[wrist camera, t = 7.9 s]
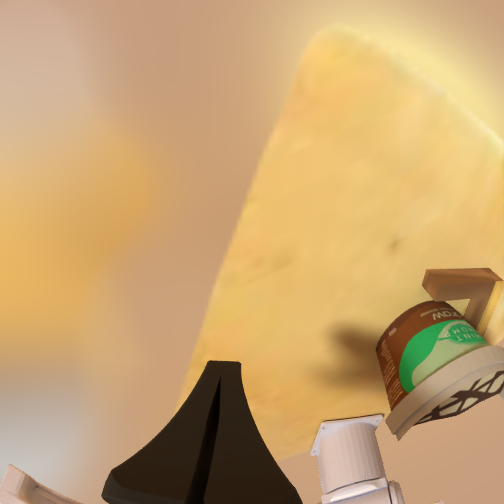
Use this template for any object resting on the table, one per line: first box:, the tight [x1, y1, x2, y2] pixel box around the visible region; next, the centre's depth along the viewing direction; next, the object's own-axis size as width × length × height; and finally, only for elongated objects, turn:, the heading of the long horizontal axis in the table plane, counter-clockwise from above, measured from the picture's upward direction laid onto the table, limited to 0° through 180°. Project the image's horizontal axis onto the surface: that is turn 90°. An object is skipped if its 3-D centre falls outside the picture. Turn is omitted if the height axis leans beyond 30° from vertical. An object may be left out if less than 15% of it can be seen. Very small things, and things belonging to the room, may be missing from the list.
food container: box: [376, 300, 504, 441], centre depth 18 cm, size 12×6×10 cm, turn 94°
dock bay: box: [422, 268, 504, 336], centre depth 22 cm, size 12×8×3 cm
